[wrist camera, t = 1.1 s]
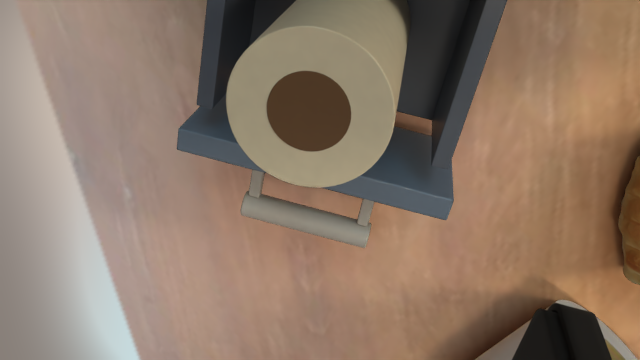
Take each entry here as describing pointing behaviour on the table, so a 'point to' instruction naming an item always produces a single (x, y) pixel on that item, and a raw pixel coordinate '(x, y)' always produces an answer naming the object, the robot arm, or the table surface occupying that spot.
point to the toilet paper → (503, 352)
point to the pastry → (631, 226)
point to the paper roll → (321, 89)
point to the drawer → (404, 146)
